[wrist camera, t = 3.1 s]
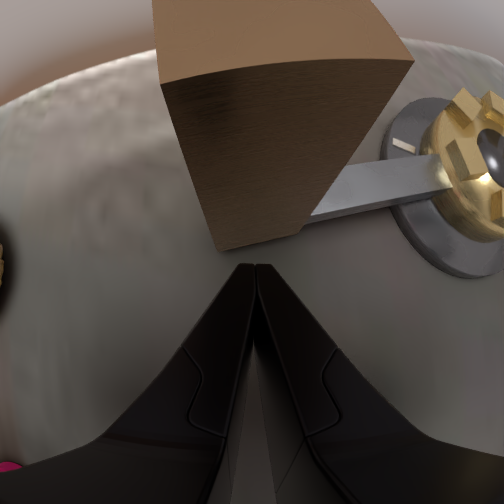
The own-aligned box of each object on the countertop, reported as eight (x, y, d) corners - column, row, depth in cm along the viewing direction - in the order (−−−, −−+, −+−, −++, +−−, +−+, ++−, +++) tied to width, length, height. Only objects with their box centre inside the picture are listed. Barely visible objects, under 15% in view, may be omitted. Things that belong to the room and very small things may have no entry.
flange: (533, 227, 19) (546, 222, 17) (444, 316, 17) (459, 316, 16) (454, 94, 21) (463, 84, 19) (342, 137, 19) (349, 124, 17)
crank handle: (484, 118, 18) (574, 31, 6) (527, 228, 17) (649, 175, 5) (195, 149, 17) (149, -56, 5) (233, 319, 15) (208, 343, 3)
